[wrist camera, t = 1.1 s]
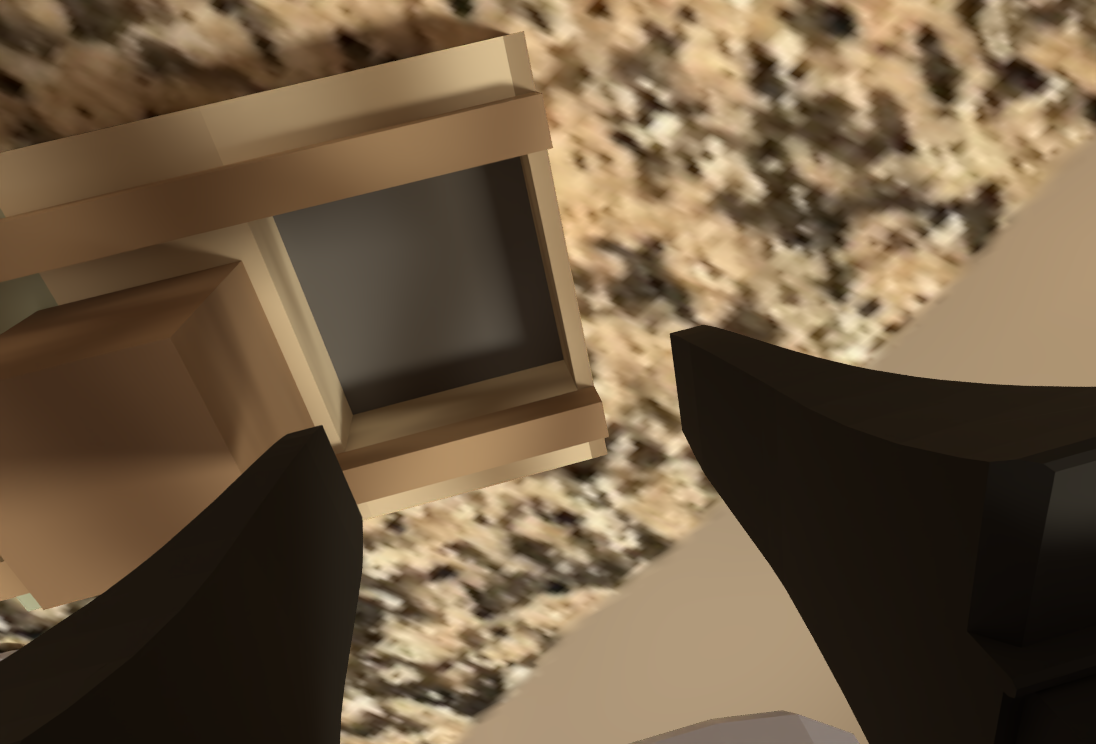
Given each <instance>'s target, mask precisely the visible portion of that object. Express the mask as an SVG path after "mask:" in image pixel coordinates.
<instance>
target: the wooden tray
mask: <svg viewBox="0 0 1096 744" xmlns="http://www.w3.org/2000/svg"><path fill="white" fill-rule="evenodd" d="M551 148H553V146H552V141H551V136H550V131H549V125H548V120H547V115H546V110H545V105H544V100H543V94H542V93H539V92H536V90H535V85H534V80H533V75H532V70H531V65H530V60H529V55H528V50H527V45H526V40H525V34H524V31H523V32H518V33H514V34H510V35H505V36H501V37H497V38H492V39H488V40H484V41H479V42H475V43H471V44H466V45H462V46H458V47H454V48H449V49H445V50H441V51H436V52H432V53H428V54H423V55H419V56H415V57H410V58H406V59H402V60H398V61H393V62H389V63H385V64H380V65H376V66H372V67H367V68H363V69H359V70H354V71H350V72H346V73H341V74H337V75H333V76H329V77H324V78H320V79H316V80H311V81H307V82H303V83H298V84H294V85H290V86H285V87H281V88H277V89H272V90H268V91H264V92H260V93H255V94H251V95H247V96H242V97H238V98H234V99H229V100H225V101H221V102H216V103H212V104H208V105H204V106H199V107H195V108H191V109H186V110H182V111H178V112H173V113H169V114H165V115H160V116H156V117H152V118H147V119H143V120H139V121H135V122H130V123H126V124H122V125H117V126H113V127H109V128H104V129H100V130H96V131H91V132H87V133H83V134H79V135H74V136H70V137H66V138H61V139H57V140H53V141H48V142H44V143H40V144H35V145H31V146H27V147H22V148H18V149H14V150H10V151H5V152H1V153H0V335H1V334H2V333H4V332H5V331H7V330H8V329H10V328H11V327H13V326H15V325H16V324H18V323H19V322H21V321H22V320H24V319H25V318H27V317H29V316H30V315H32V314H33V313H35V312H36V311H38V310H42V309H46V308H50V307H54V306H59V305H63V304H67V303H71V302H75V301H79V300H83V299H87V298H91V297H95V296H99V295H103V294H107V293H111V292H115V291H119V290H124V289H128V288H132V287H136V286H140V285H144V284H148V283H152V282H156V281H160V280H164V279H168V278H172V277H176V276H180V275H184V274H188V273H193V272H197V271H201V270H205V269H209V268H213V267H217V266H221V265H225V264H229V263H233V262H237V261H241V260H242V262H243V264H244V267H245V269H246V271H247V273H248V276H249V278H250V280H251V283H252V285H253V287H254V289H255V292H256V294H257V296H258V298H259V301H260V303H261V305H262V308H263V310H264V312H265V314H266V317H267V319H268V321H269V323H270V326H271V328H272V330H273V332H274V335H275V337H276V339H277V342H278V344H279V346H280V348H281V351H282V353H283V355H284V357H285V360H286V362H287V364H288V367H289V369H290V371H291V373H292V376H293V378H294V380H295V382H296V385H297V387H298V389H299V392H300V394H301V396H302V398H303V401H304V403H305V405H306V407H307V410H308V412H309V414H310V416H311V419H312V421H313V423H314V426H319V425H323V428H324V430H325V432H326V434H327V437H328V439H329V441H330V444H331V446H332V448H333V451H334V453H335V455H336V458H337V460H338V462H339V464H340V467H341V469H342V471H343V474H344V476H345V478H346V481H347V483H348V485H349V487H350V490H351V492H352V494H353V497H354V499H355V501H356V504H357V506H358V508H359V511H360V513H361V515H362V521H364V520H367V519H371V518H375V517H378V516H382V515H386V514H389V513H393V512H397V511H400V510H404V509H408V508H411V507H415V506H419V505H422V504H426V503H430V502H433V501H437V500H441V499H445V498H448V497H452V496H456V495H459V494H463V493H467V492H470V491H474V490H478V489H481V488H485V487H489V486H492V485H496V484H500V483H503V482H507V481H511V480H514V479H518V478H522V477H526V476H529V475H533V474H537V473H540V472H544V471H548V470H551V469H555V468H559V467H562V466H566V465H570V464H573V463H577V462H581V461H584V460H588V459H592V458H595V457H599V456H603V455H607V450H606V444H605V439H604V438H606V437H609V436H608V430H607V425H606V420H605V415H604V410H603V405H602V401H601V399H600V397H599V395H598V393H597V391H596V389H595V387H594V384H593V379H592V374H591V369H590V363H589V358H588V353H587V348H586V343H585V338H584V333H583V328H582V323H581V318H580V313H579V308H578V303H577V298H576V293H575V288H574V282H573V277H572V272H571V267H570V262H569V257H568V252H567V247H566V242H565V237H564V232H563V227H562V222H561V217H560V212H559V207H558V202H557V196H556V191H555V186H554V181H553V176H552V171H551V166H550V161H549V156H548V151H547V149H551ZM13 597H16V598H17V599H18V600H19V601H20V602H21V604H22V605H23V606H24V607H25V609H26V610H27V611H32V610H36V609H39V608H42V607H41V606H40V605H39V604H38V602H37V601H36V600H35V599H34V597H33V596H32V595H31V594H30V592H29V591H28V590H27V589H26V587H25V586H24V585H23V583H22V582H21V581H20V580H19V578H18V577H17V576H16V575H15V573H14V572H13V571H12V570H11V568H10V567H9V566H8V565H7V563H6V562H5V561H4V560H3V558H2V557H1V556H0V601H2V600H6V599H9V598H13Z"/></svg>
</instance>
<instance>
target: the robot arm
mask: <svg viewBox="0 0 1096 744" xmlns="http://www.w3.org/2000/svg"><path fill="white" fill-rule="evenodd" d="M670 339H671V347H672V355H673V362H674V370H675V378H676V385H677V393H678V401H679V408H680V416H681V424H682V431H683V433H684V435H685V437H686V439H687V441H688V443H689V445H690V447H691V449H692V451H693V453H694V455H695V457H696V459H697V460H698V462H699V464H700V466H701V468H702V470H703V472H704V473H705V475H706V476H707V478H708V479H709V481H710V482H711V484H712V485H713V486H714V488H715V489H716V491H717V492H718V493H719V495H720V496H721V498H722V499H723V500H724V502H725V503H726V505H727V506H728V507H729V509H730V510H731V512H732V513H733V514H734V516H735V517H736V519H737V520H738V521H739V522H740V524H741V525H742V527H743V528H744V530H745V531H746V532H747V533H748V535H749V536H750V538H751V539H752V541H753V542H754V543H755V545H756V546H757V548H758V549H759V550H760V552H761V553H762V554H763V556H764V557H765V559H766V560H767V561H768V563H769V564H770V565H771V567H772V569H773V570H774V572H775V573H776V575H777V576H778V578H779V579H780V581H781V582H782V584H783V585H784V587H785V589H786V590H787V592H788V594H789V595H790V598H791V599H792V601H793V603H794V605H795V606H796V608H797V610H798V612H799V613H800V615H801V617H802V619H803V620H804V622H805V624H806V626H807V628H808V629H809V631H810V633H811V635H812V636H813V638H814V640H815V642H816V643H817V646H818V647H819V649H820V651H821V653H822V655H823V656H824V658H825V660H826V662H827V664H828V666H829V668H830V670H831V672H832V673H833V675H834V677H835V679H836V681H837V683H838V684H839V686H840V688H841V690H842V692H843V694H844V696H845V698H846V699H847V701H848V703H849V705H850V707H851V709H852V711H853V713H854V715H855V717H856V719H857V721H858V723H859V725H860V726H861V729H862V731H863V733H864V735H865V736H866V739H867V740H868V742H869V744H1096V387H1059V386H1056V387H1054V386H1016V385H996V384H982V383H971V382H960V381H959V382H958V381H947V380H937V379H930V378H921V377H914V376H907V375H901V374H895V373H889V372H883V371H877V370H871V369H866V368H861V367H856V366H851V365H847V364H843V363H839V362H834V361H830V360H826V359H822V358H818V357H814V356H810V355H807V354H803V353H799V352H796V351H792V350H789V349H786V348H782V347H779V346H776V345H772V344H769V343H766V342H763V341H759V340H756V339H753V338H750V337H747V336H744V335H740V334H737V333H734V332H731V331H727V330H724V329H720V328H717V327H712V326H707V325H701V326H697V327H693V328H689V329H685V330H681V331H678V332H674V333H670ZM362 563H363V521H362V515H361V513H360V511H359V508H358V506H357V504H356V501H355V499H354V497H353V494H352V492H351V490H350V487H349V485H348V483H347V481H346V478H345V476H344V474H343V471H342V469H341V467H340V464H339V462H338V460H337V458H336V455H335V453H334V451H333V448H332V446H331V444H330V441H329V439H328V437H327V434H326V432H325V430H324V428H323V425H319V426H315V427H312V428H308V429H304V430H300V431H296V432H293V433H289V434H286V435H285V436H283V437H282V438H281V439H279V440H278V441H277V442H276V443H275V444H273V445H272V446H271V447H270V448H269V449H268V450H267V451H266V452H264V453H263V454H262V455H261V456H260V457H259V458H258V459H257V460H256V461H255V462H254V463H253V464H252V465H251V466H250V467H249V468H248V469H247V470H246V471H245V472H243V473H242V474H241V475H240V476H239V477H238V478H237V479H236V480H235V481H234V482H233V483H232V484H231V485H230V486H229V487H228V488H227V489H226V490H225V491H224V492H223V493H222V494H221V495H219V496H218V497H217V498H216V499H215V500H214V501H213V502H212V503H211V504H210V505H209V506H208V507H207V508H206V509H204V510H203V511H202V512H201V513H200V514H199V515H198V516H197V517H195V518H194V519H193V520H192V521H191V522H190V523H189V524H188V525H186V526H185V527H184V528H183V529H182V530H181V531H180V532H179V533H177V534H176V535H175V536H174V537H173V538H172V539H171V540H170V541H168V542H167V543H166V544H165V545H164V546H163V547H162V548H160V549H159V550H158V551H157V552H156V553H154V554H153V555H152V556H151V557H149V558H148V559H147V560H146V561H144V562H143V563H142V564H141V565H139V566H138V567H137V568H136V569H134V570H133V571H132V572H130V573H129V574H128V575H126V576H125V577H124V578H122V579H121V580H120V581H118V582H117V583H116V584H114V585H113V586H112V587H110V588H109V589H108V590H107V591H105V592H104V593H102V594H101V595H100V596H98V597H97V598H96V599H94V600H93V601H91V602H90V603H88V604H87V605H85V606H84V607H82V608H81V609H79V610H78V611H76V612H75V613H73V614H72V615H70V616H69V617H67V618H66V619H64V620H63V621H61V622H60V623H58V624H57V625H55V626H54V627H52V628H51V629H49V630H48V631H46V632H45V633H43V634H42V635H40V636H39V637H37V638H36V639H34V640H33V641H31V642H30V643H28V644H27V645H25V646H24V647H22V648H21V649H19V650H12V651H8V652H4V653H0V744H340V729H341V712H342V703H343V693H344V685H345V679H346V672H347V666H348V660H349V653H350V647H351V640H352V634H353V628H354V621H355V615H356V609H357V602H358V595H359V588H360V582H361V574H362ZM630 744H859V742H858V740H857V739H856V737H855V736H854V734H852V733H850V732H847V731H844V730H841V729H838V728H836V727H833V726H830V725H827V724H824V723H821V722H818V721H816V720H813V719H810V718H807V717H805V716H802V715H799V714H795V713H791V712H786V711H774V712H766V713H757V714H750V715H741V716H732V717H724V718H716V719H710V720H707V721H704V722H700V723H697V724H694V725H690V726H687V727H683V728H680V729H677V730H673V731H670V732H667V733H663V734H660V735H657V736H653V737H650V738H647V739H643V740H640V741H636V742H633V743H630Z"/></svg>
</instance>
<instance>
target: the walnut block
mask: <svg viewBox="0 0 1096 744" xmlns="http://www.w3.org/2000/svg"><path fill="white" fill-rule="evenodd" d="M312 427H315V426H314V423H313V421H312V419H311V416H310V414H309V412H308V410H307V407H306V405H305V403H304V401H303V398H302V396H301V394H300V392H299V389H298V387H297V385H296V382H295V380H294V378H293V376H292V373H291V371H290V369H289V367H288V364H287V362H286V360H285V357H284V355H283V353H282V351H281V348H280V346H279V344H278V342H277V339H276V337H275V335H274V332H273V330H272V328H271V326H270V323H269V321H268V319H267V317H266V314H265V312H264V310H263V308H262V305H261V303H260V301H259V298H258V296H257V294H256V292H255V289H254V287H253V285H252V283H251V280H250V278H249V276H248V273H247V271H246V269H245V267H244V264H243V262H242V260H241V261H237V262H233V263H229V264H225V265H221V266H217V267H213V268H209V269H205V270H201V271H197V272H193V273H188V274H184V275H180V276H176V277H172V278H168V279H164V280H160V281H156V282H152V283H148V284H144V285H140V286H136V287H132V288H128V289H124V290H119V291H115V292H111V293H107V294H103V295H99V296H95V297H91V298H87V299H83V300H79V301H75V302H71V303H67V304H63V305H59V306H54V307H50V308H46V309H42V310H38V311H36V312H35V313H33V314H32V315H30V316H29V317H27V318H25V319H24V320H22V321H21V322H19V323H18V324H16V325H15V326H13V327H11V328H10V329H8V330H7V331H5V332H4V333H2V334H1V335H0V556H1V557H2V558H3V560H4V561H5V562H6V563H7V565H8V566H9V567H10V568H11V570H12V571H13V572H14V573H15V575H16V576H17V577H18V578H19V580H20V581H21V582H22V583H23V585H24V586H25V587H26V589H27V590H28V591H29V592H30V594H31V595H32V596H33V597H34V599H35V600H36V601H37V602H38V604H39V605H40V606H41V607H42V609H43V610H45V609H49V608H52V607H56V606H60V605H63V604H67V603H71V602H74V601H78V600H82V599H85V598H89V597H93V596H97V595H100V594H102V593H104V592H105V591H107V590H108V589H109V588H110V587H112V586H113V585H114V584H116V583H117V582H118V581H120V580H121V579H122V578H124V577H125V576H126V575H128V574H129V573H130V572H132V571H133V570H134V569H136V568H137V567H138V566H139V565H141V564H142V563H143V562H144V561H146V560H147V559H148V558H149V557H151V556H152V555H153V554H154V553H156V552H157V551H158V550H159V549H160V548H162V547H163V546H164V545H165V544H166V543H167V542H168V541H170V540H171V539H172V538H173V537H174V536H175V535H176V534H177V533H179V532H180V531H181V530H182V529H183V528H184V527H185V526H186V525H188V524H189V523H190V522H191V521H192V520H193V519H194V518H195V517H197V516H198V515H199V514H200V513H201V512H202V511H203V510H204V509H206V508H207V507H208V506H209V505H210V504H211V503H212V502H213V501H214V500H215V499H216V498H217V497H218V496H219V495H221V494H222V493H223V492H224V491H225V490H226V489H227V488H228V487H229V486H230V485H231V484H232V483H233V482H234V481H235V480H236V479H237V478H238V477H239V476H240V475H241V474H242V473H243V472H245V471H246V470H247V469H248V468H249V467H250V466H251V465H252V464H253V463H254V462H255V461H256V460H257V459H258V458H259V457H260V456H261V455H262V454H263V453H264V452H266V451H267V450H268V449H269V448H270V447H271V446H272V445H273V444H275V443H276V442H277V441H278V440H279V439H281V438H282V437H283V436H285V435H286V434H289V433H293V432H296V431H300V430H304V429H308V428H312Z"/></svg>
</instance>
